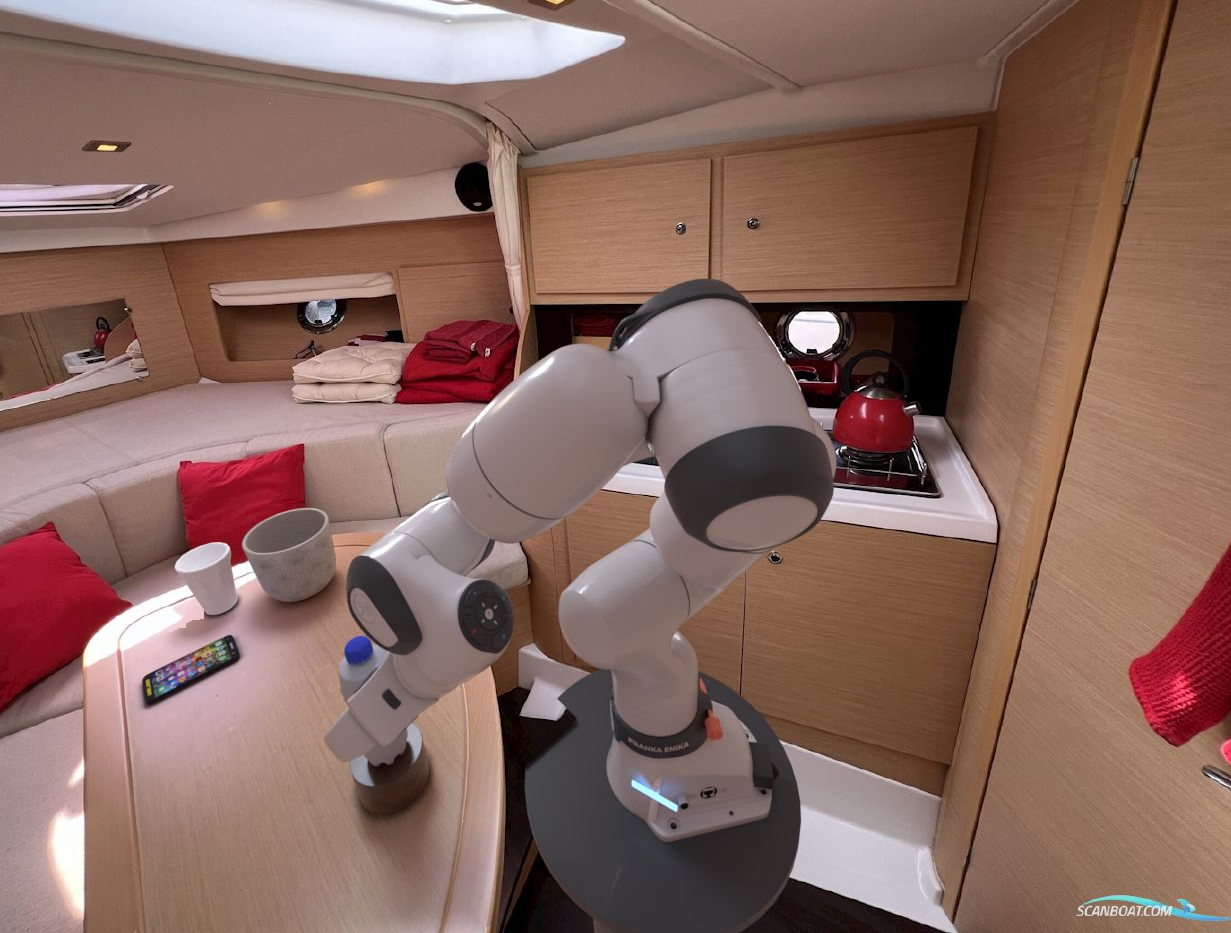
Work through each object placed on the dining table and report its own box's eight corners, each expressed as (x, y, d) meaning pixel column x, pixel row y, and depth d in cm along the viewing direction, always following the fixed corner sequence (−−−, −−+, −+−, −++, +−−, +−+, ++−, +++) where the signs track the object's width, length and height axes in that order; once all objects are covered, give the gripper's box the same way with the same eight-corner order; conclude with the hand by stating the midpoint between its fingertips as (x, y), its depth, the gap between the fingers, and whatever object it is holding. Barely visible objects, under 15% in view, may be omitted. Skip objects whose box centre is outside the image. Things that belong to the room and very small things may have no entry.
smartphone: (240, 655, 102) (144, 704, 93) (241, 658, 102) (146, 707, 93) (231, 632, 107) (141, 676, 99) (233, 636, 108) (143, 680, 99)
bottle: (359, 741, 78) (325, 635, 70) (406, 719, 80) (378, 615, 73) (367, 782, 72) (331, 672, 65) (416, 757, 75) (388, 648, 67)
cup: (257, 598, 118) (239, 549, 113) (210, 629, 110) (188, 578, 105) (232, 584, 123) (214, 537, 118) (186, 613, 115) (164, 563, 110)
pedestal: (436, 744, 83) (429, 716, 81) (419, 814, 74) (411, 785, 71) (373, 746, 83) (364, 718, 81) (348, 815, 74) (337, 787, 72)
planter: (359, 579, 121) (343, 522, 115) (285, 626, 109) (263, 565, 103) (321, 553, 131) (304, 499, 126) (249, 593, 120) (228, 536, 114)
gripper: (459, 585, 72) (416, 621, 80) (337, 711, 55) (299, 741, 63) (491, 621, 71) (445, 653, 79) (378, 759, 55) (334, 782, 63)
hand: (379, 693), depth 71 cm, fingers open, 8 cm apart
